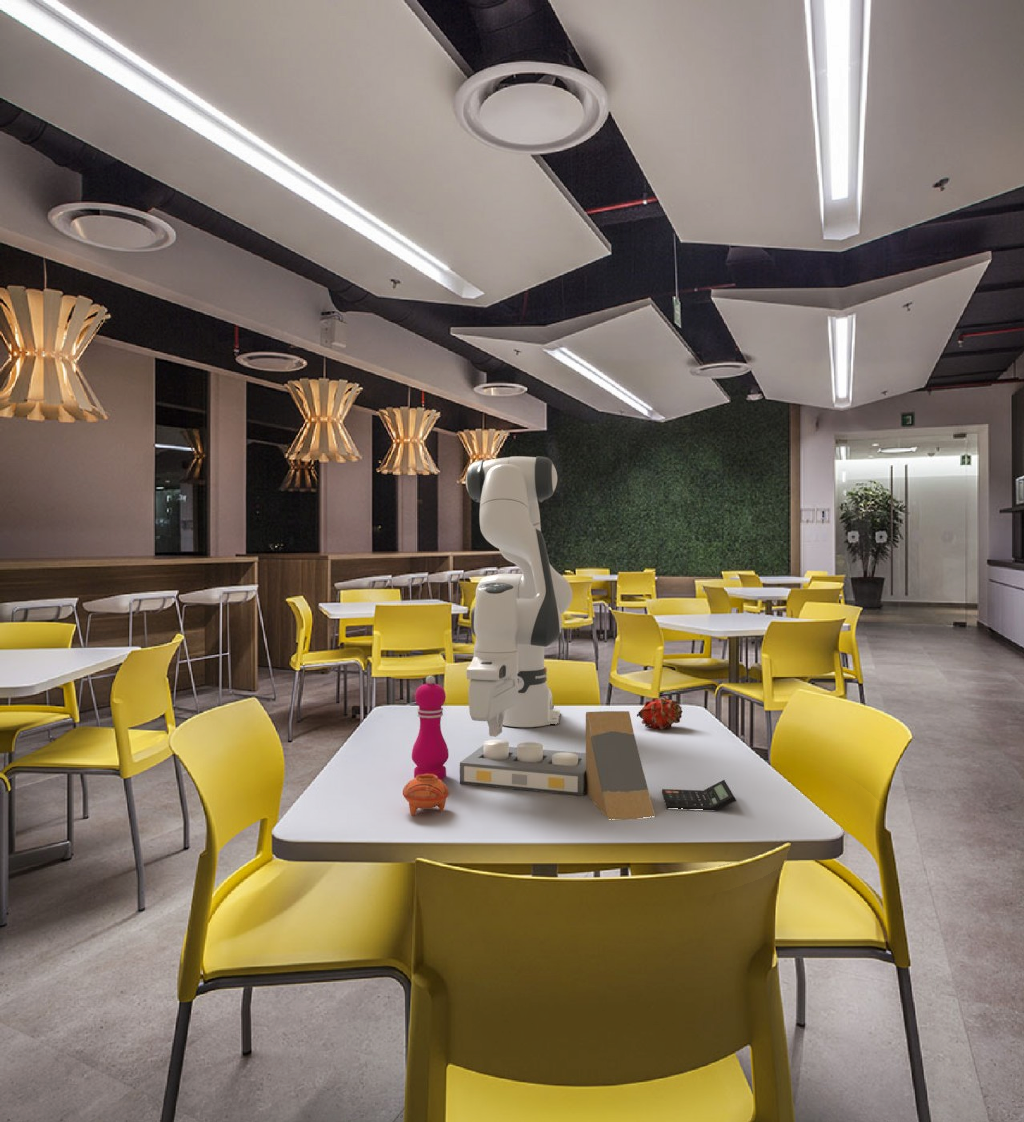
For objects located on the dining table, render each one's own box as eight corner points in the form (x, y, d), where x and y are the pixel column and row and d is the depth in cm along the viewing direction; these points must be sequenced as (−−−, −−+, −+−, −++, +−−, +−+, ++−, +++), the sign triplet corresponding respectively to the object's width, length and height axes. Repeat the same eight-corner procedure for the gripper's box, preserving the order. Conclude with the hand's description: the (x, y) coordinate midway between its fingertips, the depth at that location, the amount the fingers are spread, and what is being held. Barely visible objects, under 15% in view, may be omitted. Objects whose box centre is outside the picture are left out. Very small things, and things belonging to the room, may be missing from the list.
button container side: (555, 772, 144) (555, 751, 144) (580, 775, 142) (580, 753, 142) (549, 780, 139) (549, 758, 139) (575, 782, 138) (575, 760, 138)
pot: (392, 806, 126) (401, 766, 127) (435, 810, 129) (443, 772, 130) (405, 819, 119) (415, 777, 119) (450, 824, 122) (458, 783, 123)
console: (483, 763, 153) (483, 744, 153) (597, 773, 146) (597, 753, 146) (458, 784, 139) (458, 763, 139) (582, 796, 132) (582, 774, 132)
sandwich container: (607, 821, 120) (607, 730, 120) (584, 792, 135) (584, 711, 135) (657, 819, 121) (658, 729, 121) (629, 790, 136) (629, 710, 136)
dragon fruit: (687, 734, 185) (640, 742, 185) (676, 709, 192) (631, 716, 191) (689, 712, 180) (641, 719, 180) (678, 687, 187) (632, 694, 186)
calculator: (661, 793, 135) (661, 777, 135) (726, 795, 134) (726, 779, 134) (667, 811, 125) (667, 793, 125) (736, 813, 124) (736, 796, 124)
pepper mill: (416, 784, 139) (417, 679, 139) (407, 774, 145) (407, 673, 145) (453, 780, 141) (453, 677, 141) (442, 770, 148) (442, 671, 148)
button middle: (521, 762, 146) (521, 741, 146) (545, 764, 144) (545, 743, 144) (514, 769, 141) (514, 747, 141) (539, 771, 140) (539, 749, 140)
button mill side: (488, 759, 148) (488, 738, 148) (511, 761, 146) (511, 740, 146) (479, 766, 143) (480, 744, 143) (504, 768, 142) (504, 746, 142)
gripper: (497, 657, 155) (497, 722, 155) (462, 671, 136) (462, 745, 136) (525, 659, 154) (525, 724, 154) (495, 673, 134) (494, 748, 134)
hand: (495, 734), depth 145 cm, fingers closed
